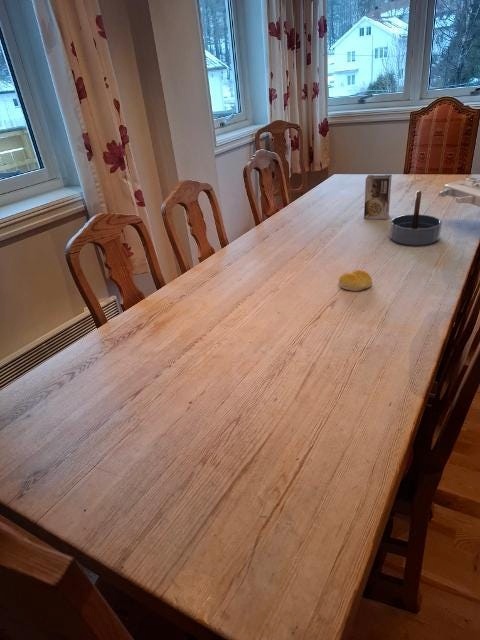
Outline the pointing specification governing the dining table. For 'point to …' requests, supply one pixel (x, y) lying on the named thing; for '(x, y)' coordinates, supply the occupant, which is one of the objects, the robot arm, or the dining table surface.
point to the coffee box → (377, 196)
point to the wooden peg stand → (416, 211)
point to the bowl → (415, 230)
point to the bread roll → (355, 280)
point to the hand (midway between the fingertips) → (448, 197)
